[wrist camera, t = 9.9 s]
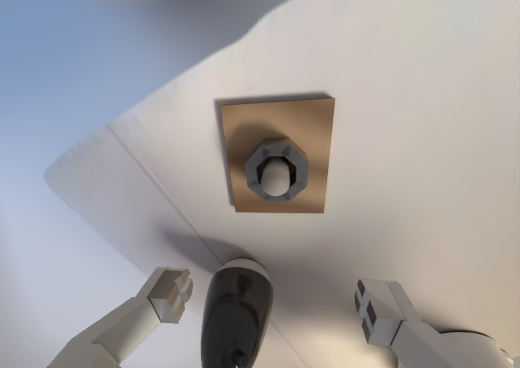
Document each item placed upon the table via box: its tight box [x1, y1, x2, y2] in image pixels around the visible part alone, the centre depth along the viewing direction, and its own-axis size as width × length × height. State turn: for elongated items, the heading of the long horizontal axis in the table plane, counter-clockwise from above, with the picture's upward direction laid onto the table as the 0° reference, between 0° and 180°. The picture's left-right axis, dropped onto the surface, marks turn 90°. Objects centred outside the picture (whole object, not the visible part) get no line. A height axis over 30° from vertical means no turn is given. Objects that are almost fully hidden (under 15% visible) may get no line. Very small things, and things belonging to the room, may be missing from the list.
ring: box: [245, 137, 309, 201], centre depth 22 cm, size 7×7×3 cm
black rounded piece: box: [201, 259, 274, 368], centre depth 27 cm, size 10×10×15 cm
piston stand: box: [220, 98, 335, 213], centre depth 21 cm, size 14×12×6 cm
